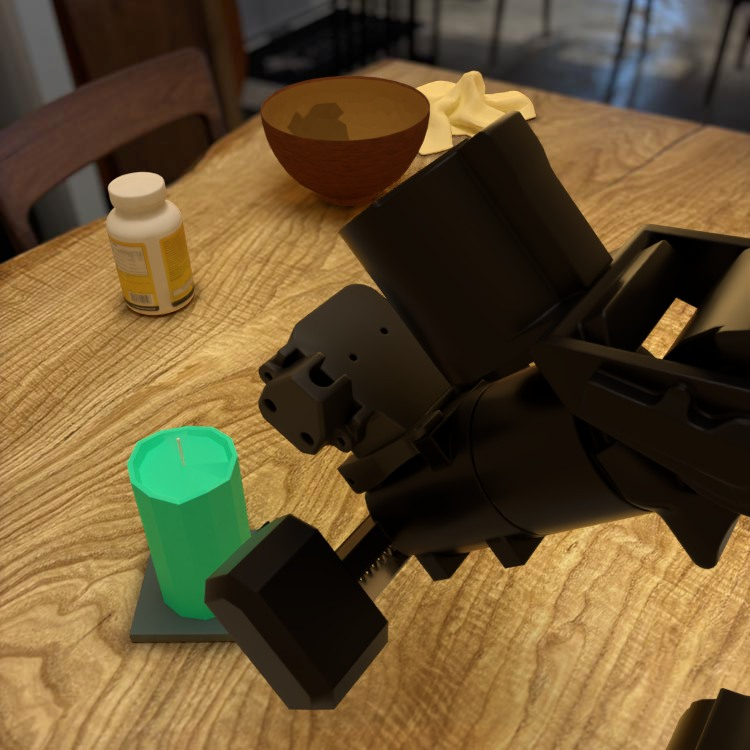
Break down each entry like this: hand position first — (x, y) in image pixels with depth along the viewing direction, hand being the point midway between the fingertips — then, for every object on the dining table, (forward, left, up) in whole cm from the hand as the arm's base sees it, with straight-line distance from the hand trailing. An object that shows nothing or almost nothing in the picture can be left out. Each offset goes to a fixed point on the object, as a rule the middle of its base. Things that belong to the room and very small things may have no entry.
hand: (307, 525), depth 42 cm
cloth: (+22, -76, -12) cm, 81 cm away
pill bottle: (+32, -26, -12) cm, 43 cm away
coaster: (+9, -1, -12) cm, 15 cm away
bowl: (+26, -52, -12) cm, 60 cm away
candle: (+9, -1, -11) cm, 14 cm away
